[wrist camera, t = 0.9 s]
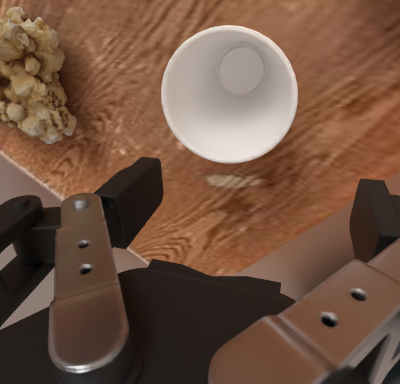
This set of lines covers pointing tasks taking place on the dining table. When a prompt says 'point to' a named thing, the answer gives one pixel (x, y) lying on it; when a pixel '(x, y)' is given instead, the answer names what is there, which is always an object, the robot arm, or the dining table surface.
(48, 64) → the mineral formation
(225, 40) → the cup
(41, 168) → the dining table surface
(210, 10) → the dining table surface
